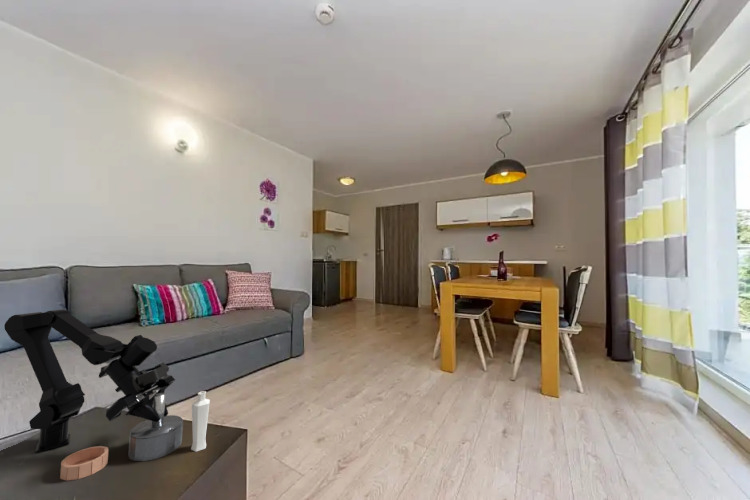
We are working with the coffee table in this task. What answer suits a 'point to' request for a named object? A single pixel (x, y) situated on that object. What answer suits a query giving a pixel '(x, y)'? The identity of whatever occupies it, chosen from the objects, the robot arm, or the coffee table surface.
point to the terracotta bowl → (84, 463)
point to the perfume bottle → (200, 421)
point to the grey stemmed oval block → (155, 434)
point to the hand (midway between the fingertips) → (162, 418)
